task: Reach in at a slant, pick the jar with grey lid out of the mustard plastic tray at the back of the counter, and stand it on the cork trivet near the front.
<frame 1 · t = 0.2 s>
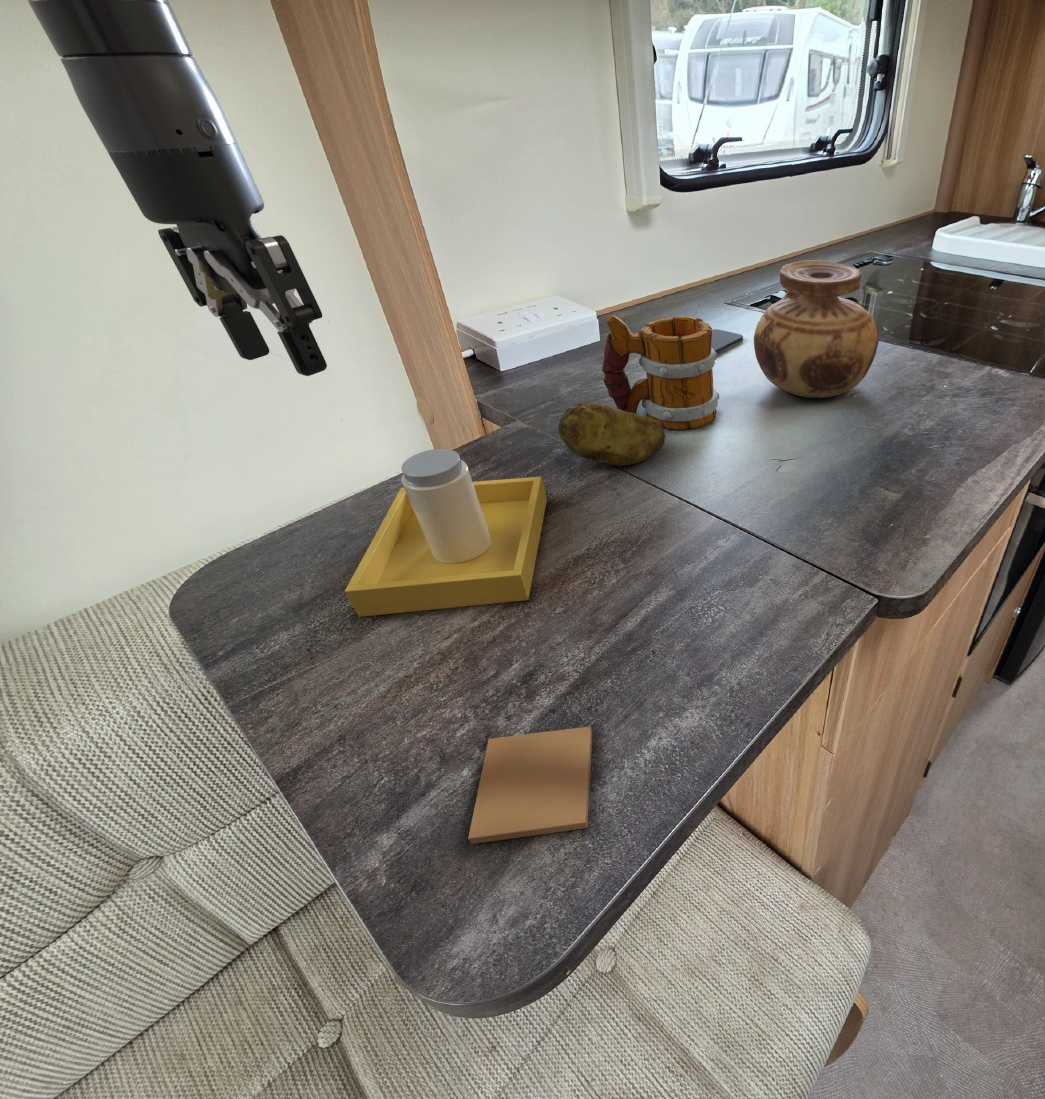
hand: (284, 364, 52), 20 cm above the countertop, tool pointing down, fingers open, 8 cm apart
clay pot: (811, 387, 96), on the countertop
mug: (665, 417, 89), on the countertop
phone: (706, 348, 110), on the countertop
potato: (617, 461, 79), on the countertop
trivet: (536, 784, 43), on the countertop
tray: (464, 551, 64), on the countertop
jar with grey lid: (462, 545, 63), point 1 cm above the countertop, touching tray
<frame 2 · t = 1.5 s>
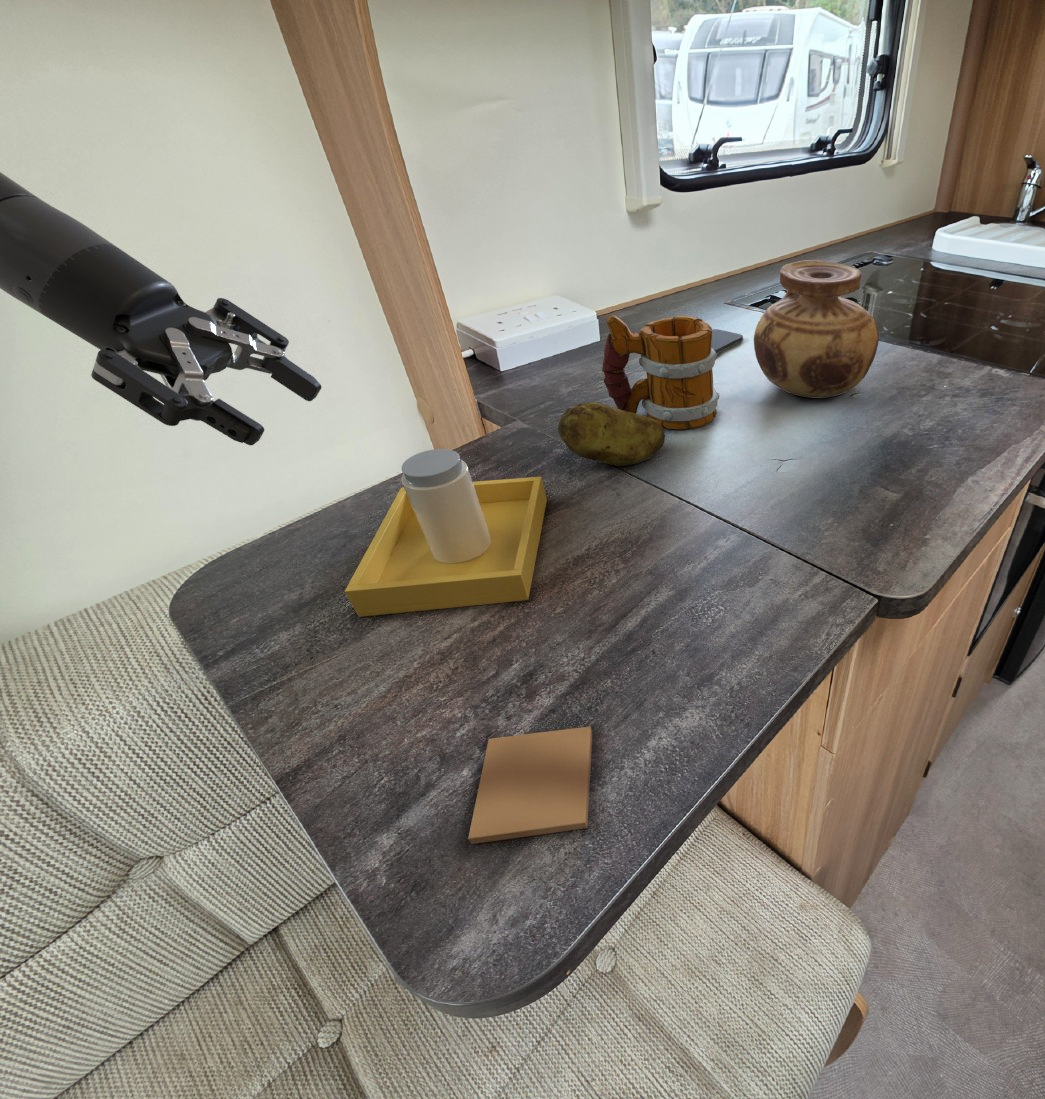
hand: (289, 414, 54), 16 cm above the countertop, tool tilted 45°, fingers open, 8 cm apart
nothing on the countertop moved.
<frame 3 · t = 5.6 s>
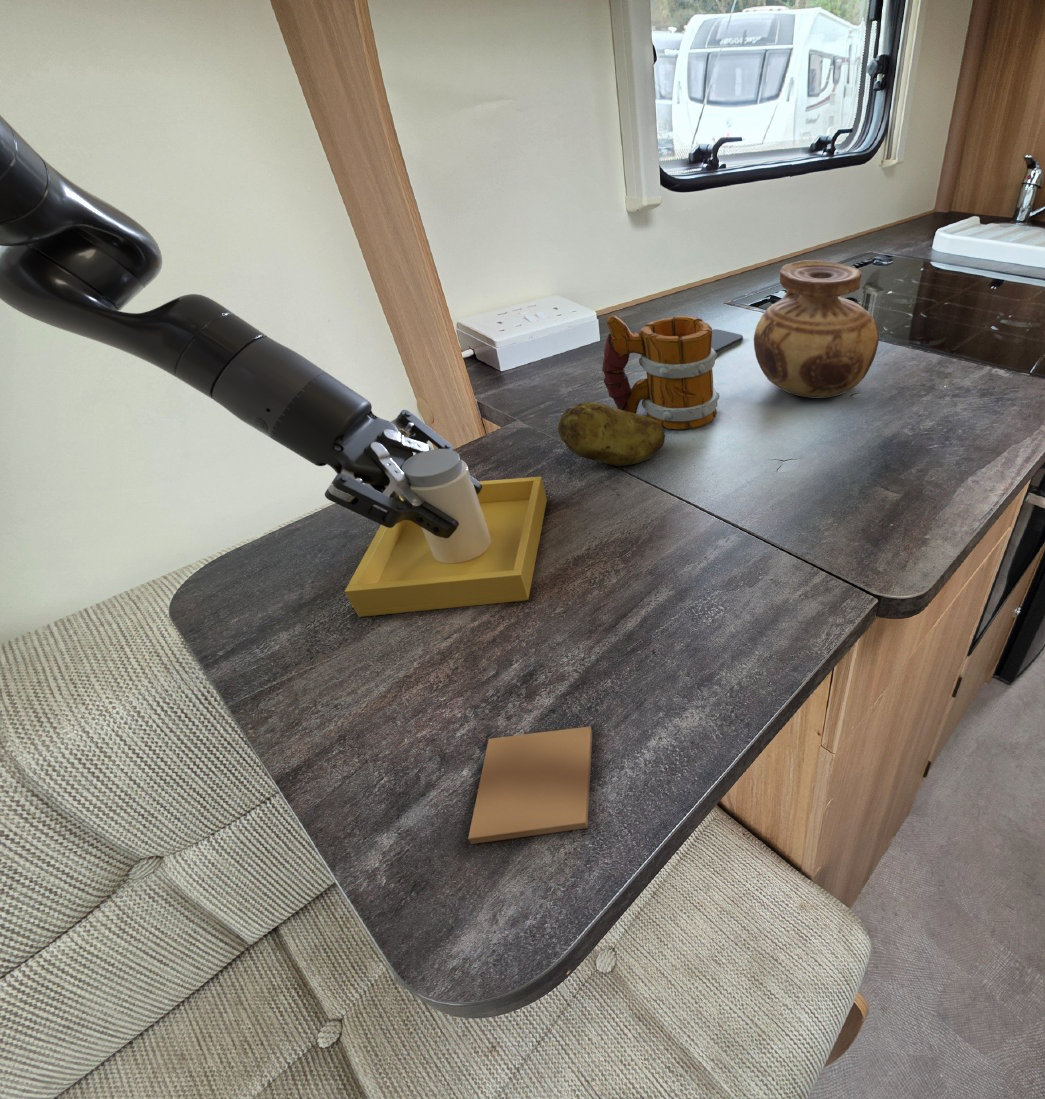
hand: (465, 511, 60), 5 cm above the countertop, tool tilted 45°, fingers closed on jar with grey lid, 6 cm apart
jar with grey lid: (462, 545, 63), point 1 cm above the countertop, touching gripper, tray
everything else where it was.
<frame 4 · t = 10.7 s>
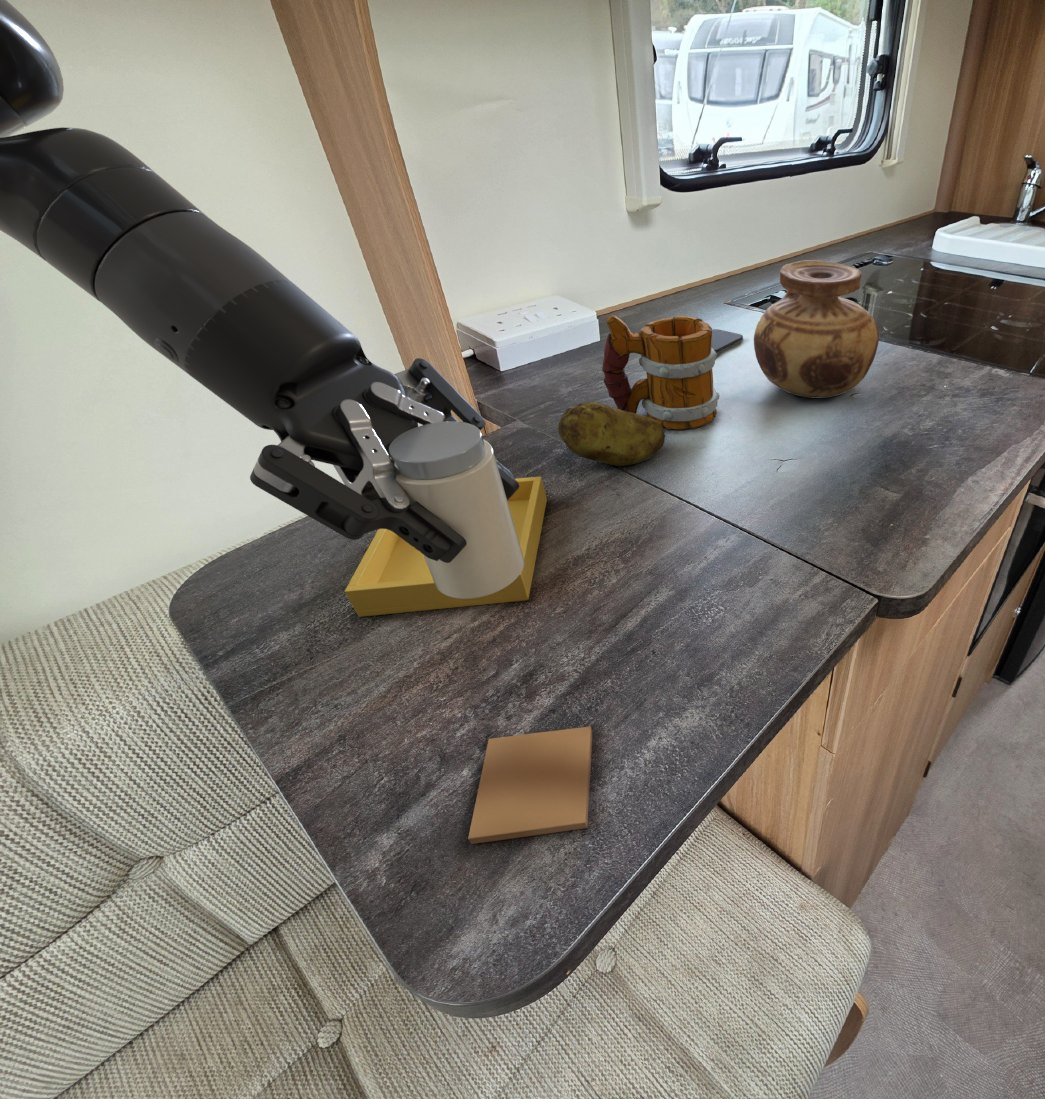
hand: (486, 522, 39), 17 cm above the countertop, tool tilted 45°, fingers closed on jar with grey lid, 6 cm apart
jar with grey lid: (480, 570, 42), point 13 cm above the countertop, touching gripper
everything else where it was.
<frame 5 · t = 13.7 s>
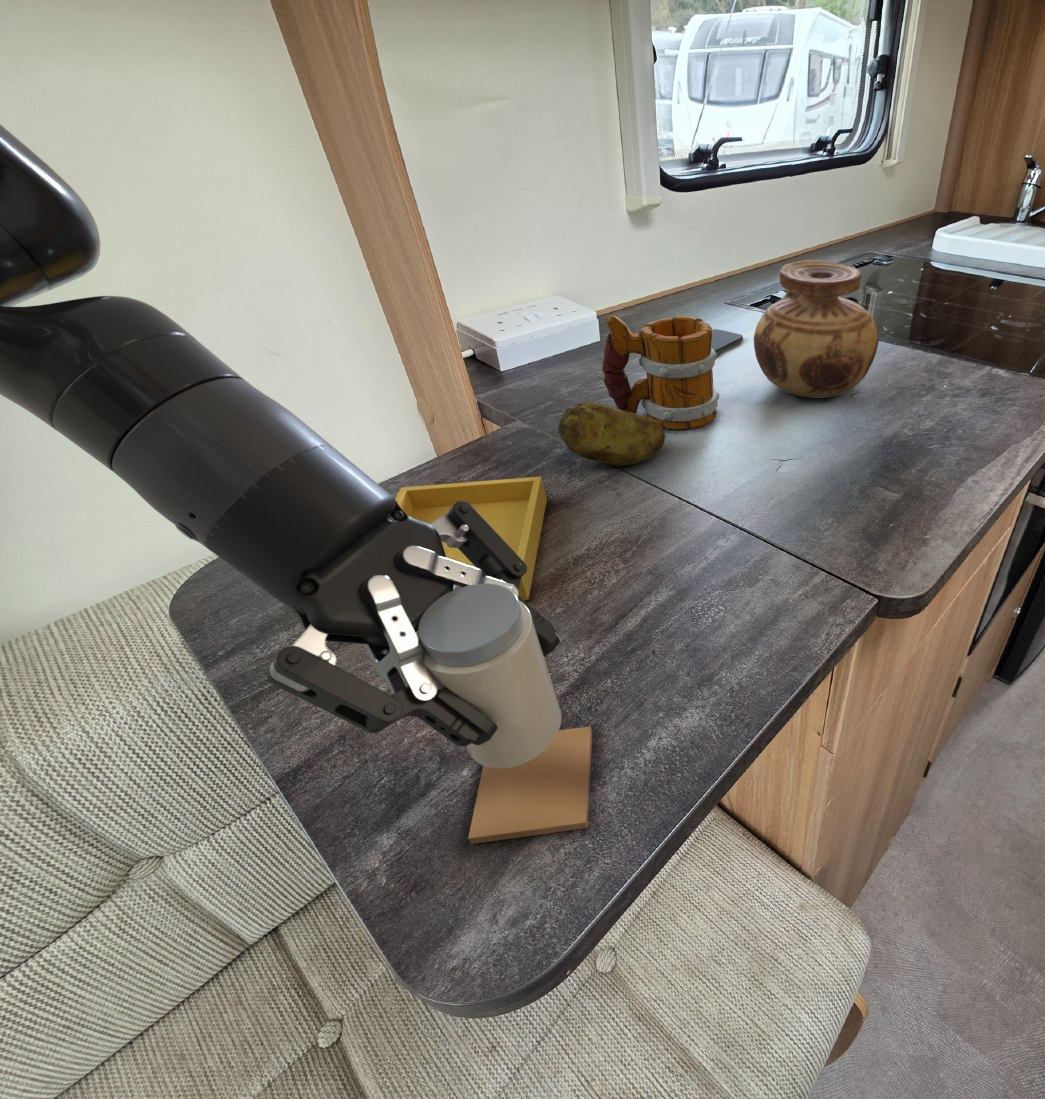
hand: (521, 689, 35), 11 cm above the countertop, tool tilted 45°, fingers closed on jar with grey lid, 6 cm apart
jar with grey lid: (514, 726, 38), point 7 cm above the countertop, touching gripper
everything else where it was.
when the fingers open (5 cm above the countertop, at t = 15.9 s): jar with grey lid stays where it is, resting on trivet.
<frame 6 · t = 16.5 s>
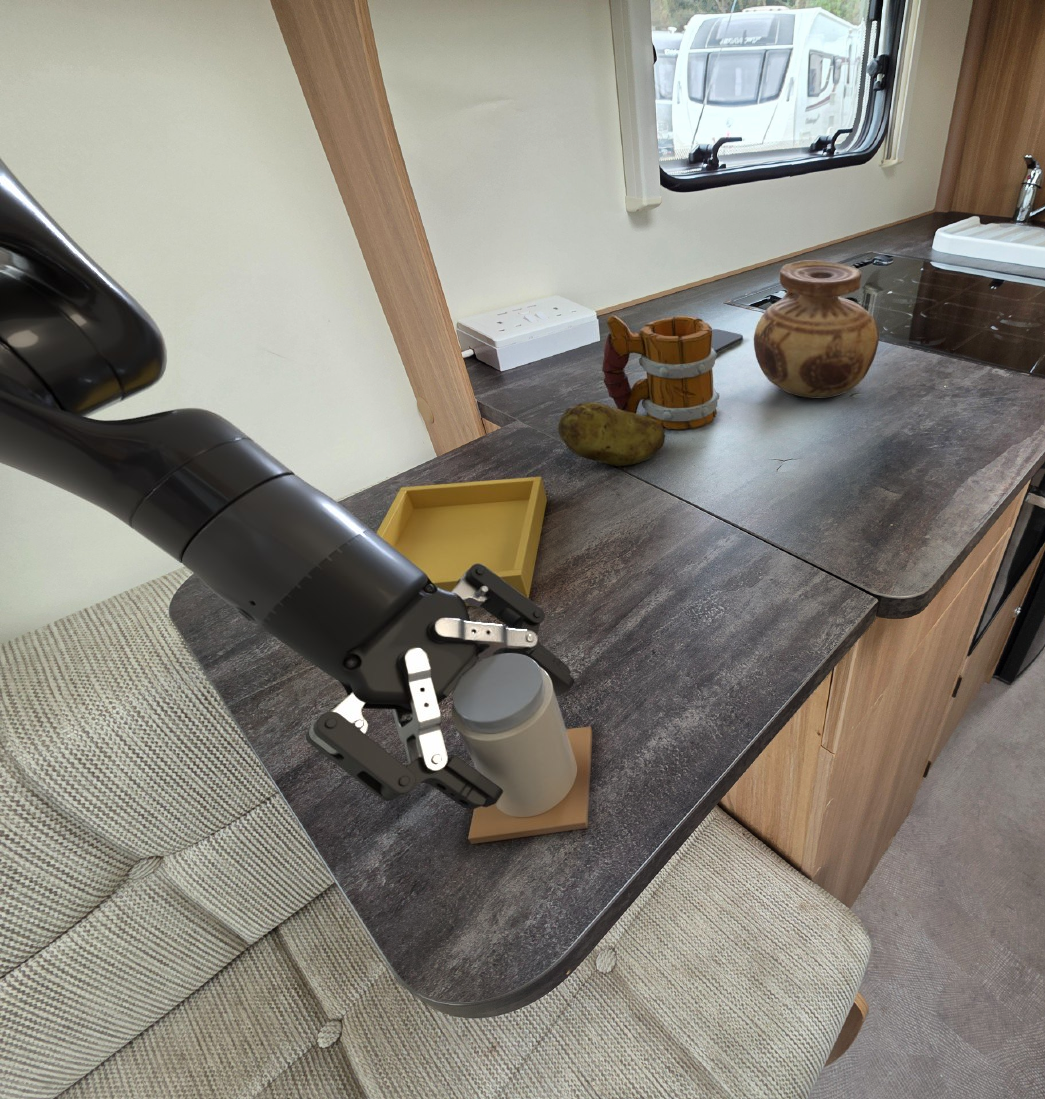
hand: (533, 739, 39), 6 cm above the countertop, tool tilted 45°, fingers open, 8 cm apart
jar with grey lid: (534, 776, 42), point 1 cm above the countertop, touching trivet
everything else where it was.
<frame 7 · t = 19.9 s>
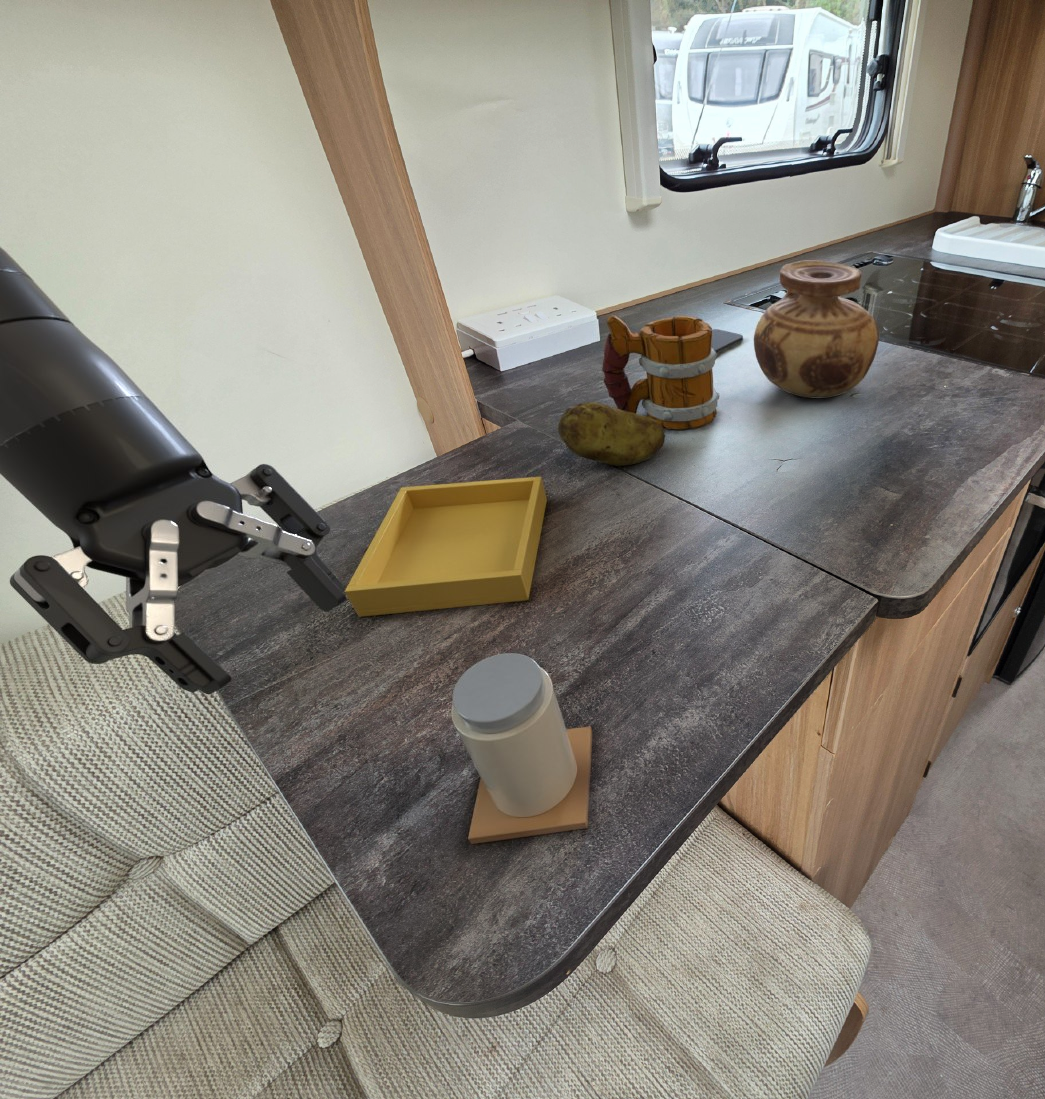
hand: (284, 643, 39), 11 cm above the countertop, tool tilted 35°, fingers open, 8 cm apart
nothing on the countertop moved.
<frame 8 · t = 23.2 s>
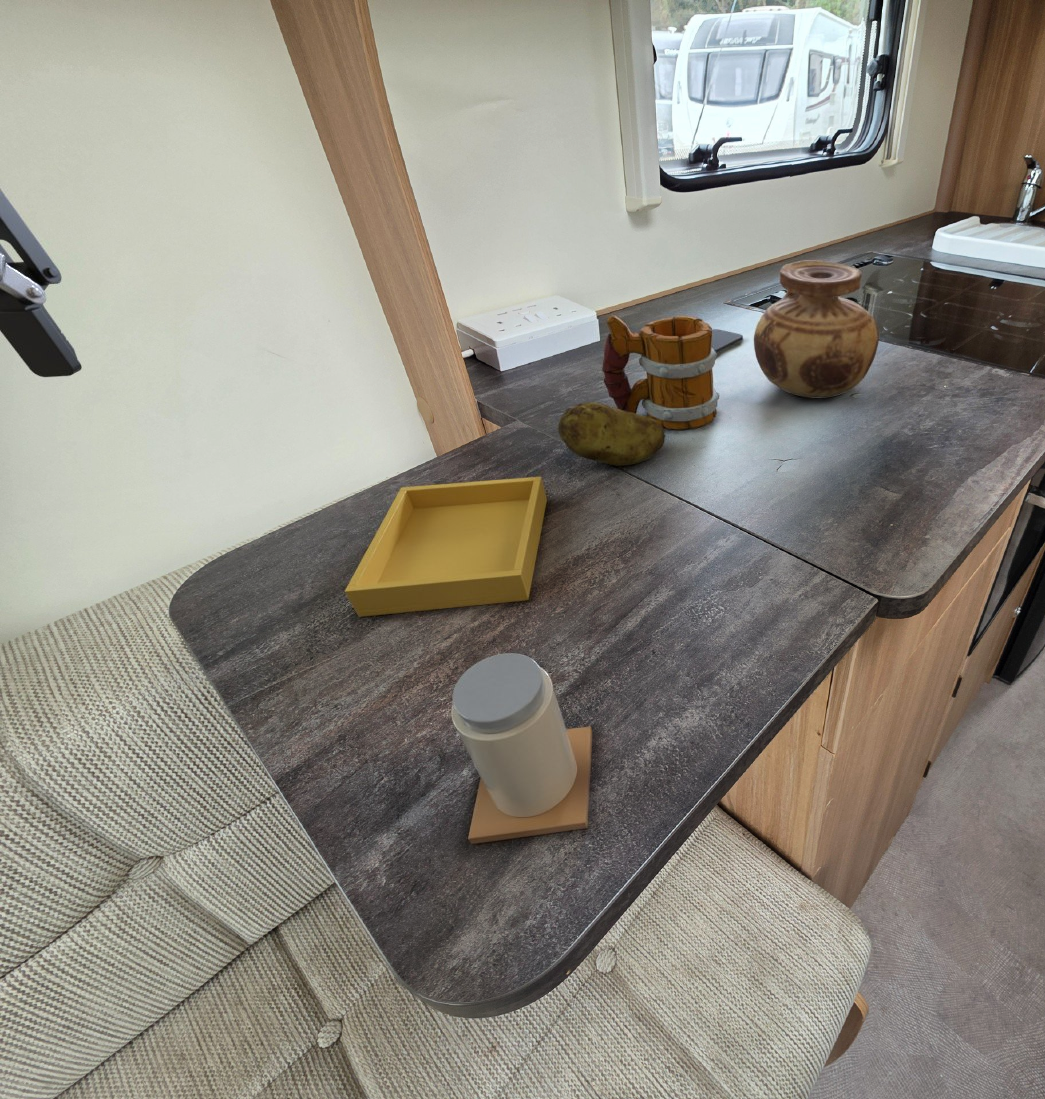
hand: (3, 404, 32), 26 cm above the countertop, tool pointing down, fingers open, 8 cm apart
nothing on the countertop moved.
at the end: jar with grey lid 0.1 cm off-centre on the trivet, point 0.8 cm above the trivet's base; jar with grey lid tilted 0°; jar with grey lid touching trivet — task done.
